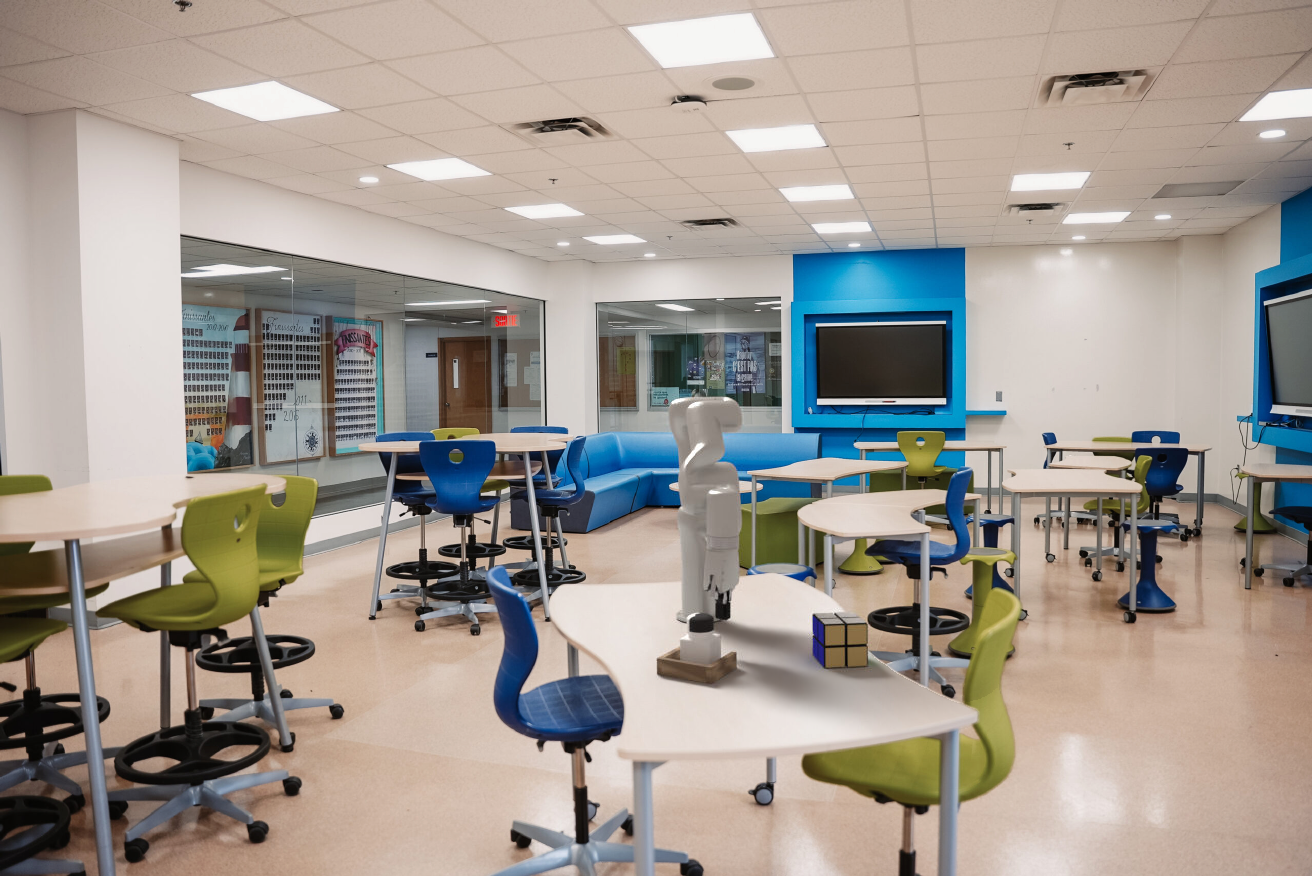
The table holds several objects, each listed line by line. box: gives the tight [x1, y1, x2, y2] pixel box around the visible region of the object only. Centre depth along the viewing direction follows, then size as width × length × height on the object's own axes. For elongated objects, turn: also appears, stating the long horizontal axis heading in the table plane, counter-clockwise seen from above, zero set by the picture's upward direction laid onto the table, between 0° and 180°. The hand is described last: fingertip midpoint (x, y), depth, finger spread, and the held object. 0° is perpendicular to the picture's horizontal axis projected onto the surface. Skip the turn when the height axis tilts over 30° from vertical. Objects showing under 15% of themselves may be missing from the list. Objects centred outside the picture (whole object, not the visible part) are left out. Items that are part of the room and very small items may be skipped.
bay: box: [656, 645, 738, 685], centre depth 192 cm, size 12×13×4 cm
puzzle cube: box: [811, 611, 869, 669], centre depth 197 cm, size 10×10×10 cm
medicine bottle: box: [679, 613, 722, 665], centre depth 194 cm, size 7×7×12 cm
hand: (722, 618), depth 205 cm, fingers closed
